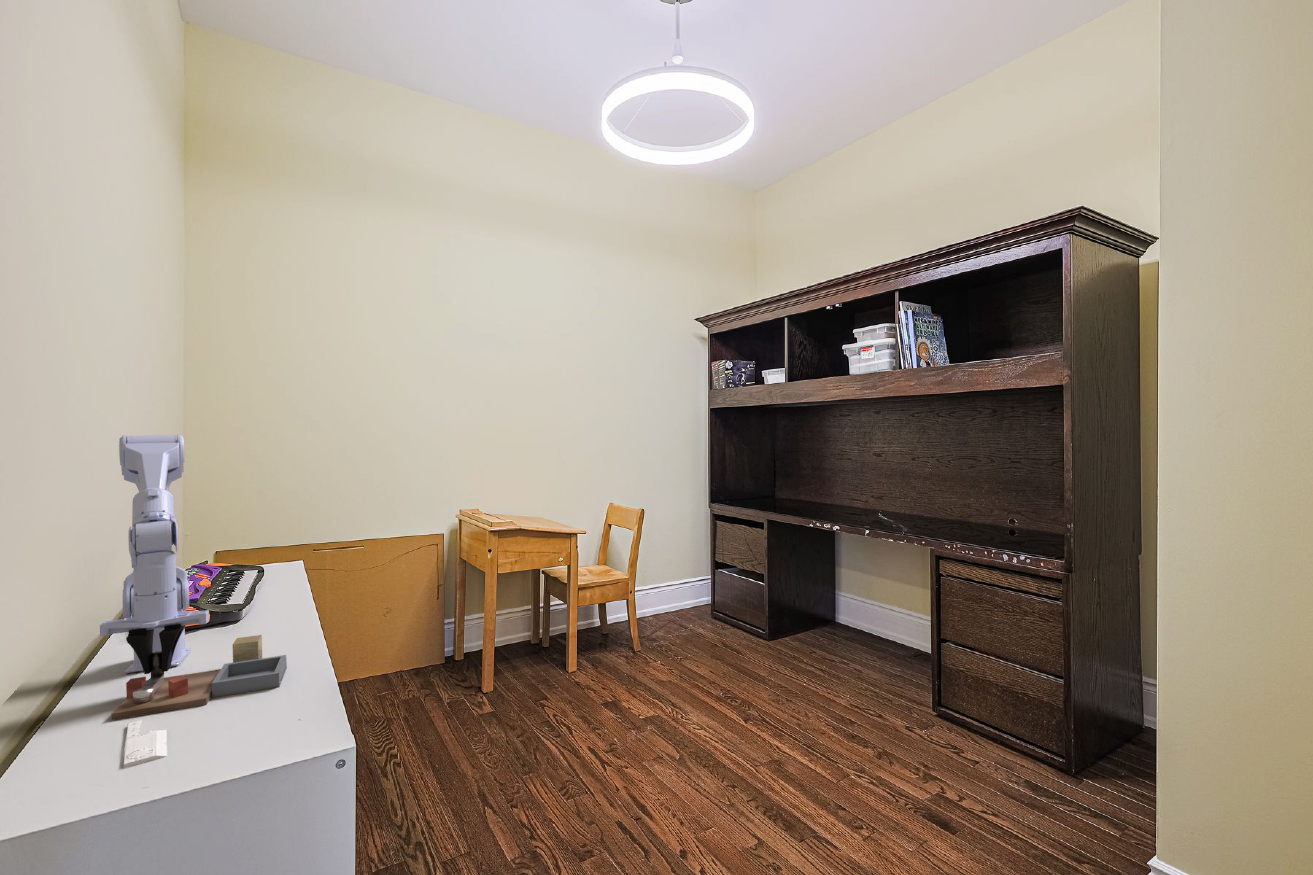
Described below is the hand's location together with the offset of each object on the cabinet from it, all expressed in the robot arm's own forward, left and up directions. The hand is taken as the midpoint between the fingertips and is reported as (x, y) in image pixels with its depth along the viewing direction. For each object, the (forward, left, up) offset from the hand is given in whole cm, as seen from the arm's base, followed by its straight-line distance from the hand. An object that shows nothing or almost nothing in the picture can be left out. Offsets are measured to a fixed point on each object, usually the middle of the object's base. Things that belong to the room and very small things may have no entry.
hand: (157, 670), depth 106 cm
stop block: (-6, +12, -3) cm, 14 cm away
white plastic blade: (+21, +4, -4) cm, 22 cm away
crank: (+4, 0, -2) cm, 4 cm away
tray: (+3, +14, -3) cm, 15 cm away
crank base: (+4, +3, -3) cm, 6 cm away
